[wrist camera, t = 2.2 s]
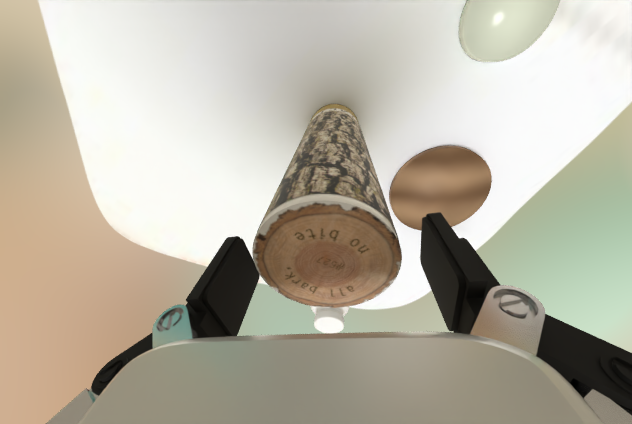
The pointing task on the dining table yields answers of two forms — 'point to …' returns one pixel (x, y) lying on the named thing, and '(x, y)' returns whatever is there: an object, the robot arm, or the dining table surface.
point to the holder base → (440, 186)
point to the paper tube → (329, 220)
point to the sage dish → (503, 27)
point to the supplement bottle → (329, 319)
